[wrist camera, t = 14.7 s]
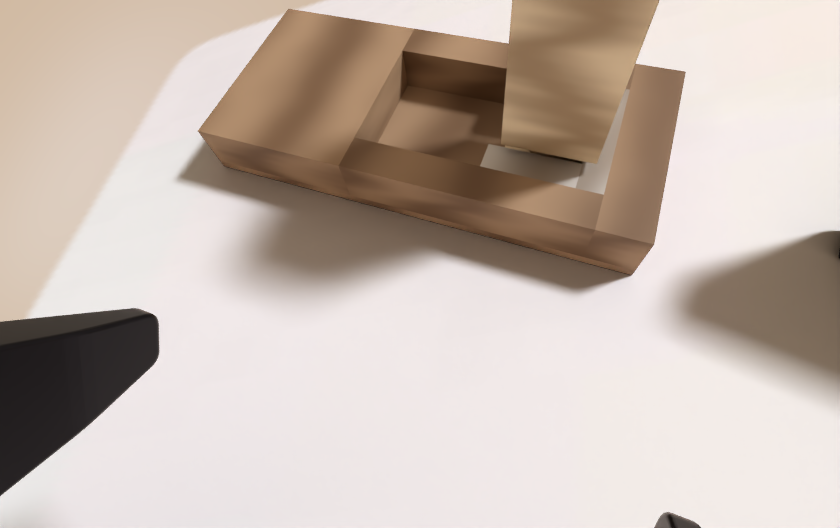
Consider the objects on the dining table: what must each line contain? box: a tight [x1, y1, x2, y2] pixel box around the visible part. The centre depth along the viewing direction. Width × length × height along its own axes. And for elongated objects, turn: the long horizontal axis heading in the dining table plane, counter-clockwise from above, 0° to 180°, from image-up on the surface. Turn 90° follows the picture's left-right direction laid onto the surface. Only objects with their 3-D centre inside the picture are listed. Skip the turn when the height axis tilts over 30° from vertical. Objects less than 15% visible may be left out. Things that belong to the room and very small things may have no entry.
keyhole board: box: [198, 9, 685, 275], centre depth 26 cm, size 24×11×3 cm, turn 69°
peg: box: [501, 0, 659, 164], centre depth 19 cm, size 5×5×15 cm
